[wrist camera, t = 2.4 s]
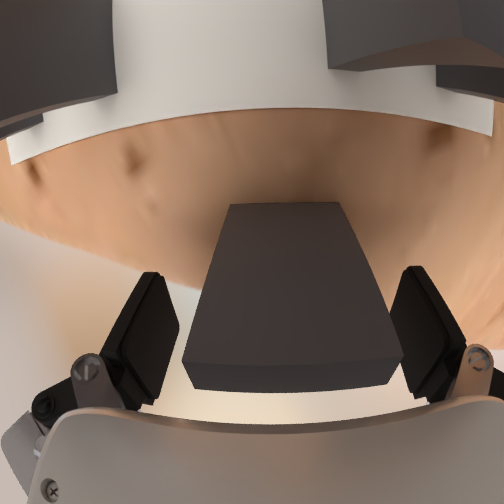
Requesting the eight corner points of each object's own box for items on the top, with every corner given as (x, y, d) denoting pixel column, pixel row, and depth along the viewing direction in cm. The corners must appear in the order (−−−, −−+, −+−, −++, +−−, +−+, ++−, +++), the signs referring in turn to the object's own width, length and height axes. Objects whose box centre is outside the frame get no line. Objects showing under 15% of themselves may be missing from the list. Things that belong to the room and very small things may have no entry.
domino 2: (230, 204, 15) (181, 361, 7) (338, 202, 14) (403, 355, 6) (233, 229, 16) (194, 389, 8) (336, 227, 15) (386, 384, 7)
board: (477, -4, 5) (482, -5, 5) (485, 134, 11) (491, 136, 10) (4, 47, 8) (-2, 47, 8) (17, 162, 14) (11, 165, 13)
